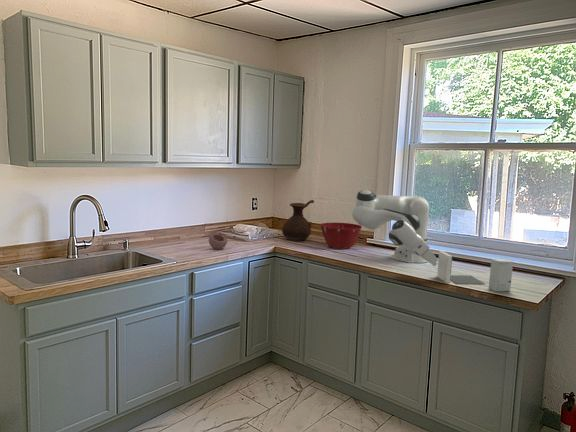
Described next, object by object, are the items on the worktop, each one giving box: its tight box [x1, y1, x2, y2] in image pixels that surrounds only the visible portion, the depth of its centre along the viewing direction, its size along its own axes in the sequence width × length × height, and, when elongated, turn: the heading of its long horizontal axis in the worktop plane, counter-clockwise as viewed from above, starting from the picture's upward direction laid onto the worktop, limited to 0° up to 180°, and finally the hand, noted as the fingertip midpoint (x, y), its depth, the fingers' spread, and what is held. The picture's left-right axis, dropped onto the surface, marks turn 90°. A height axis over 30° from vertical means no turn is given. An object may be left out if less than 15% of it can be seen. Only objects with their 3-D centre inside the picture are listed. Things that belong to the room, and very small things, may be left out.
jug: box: [281, 199, 315, 242], centre depth 340 cm, size 22×22×30 cm
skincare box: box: [488, 258, 514, 292], centre depth 224 cm, size 8×6×15 cm
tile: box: [436, 250, 453, 284], centre depth 239 cm, size 2×12×14 cm, turn 3°
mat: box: [450, 274, 486, 285], centre depth 241 cm, size 15×16×1 cm
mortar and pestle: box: [208, 231, 228, 250], centre depth 299 cm, size 12×12×12 cm
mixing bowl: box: [319, 222, 363, 250], centre depth 317 cm, size 28×28×16 cm
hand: (434, 264), depth 239 cm, fingers closed
